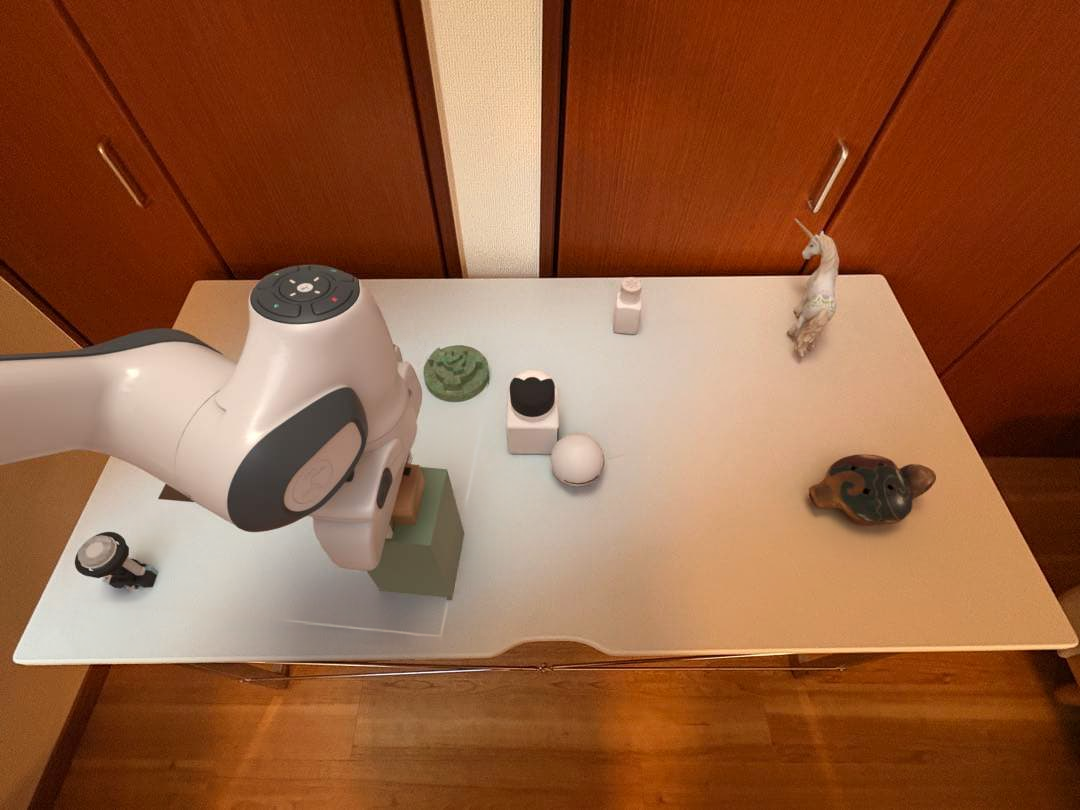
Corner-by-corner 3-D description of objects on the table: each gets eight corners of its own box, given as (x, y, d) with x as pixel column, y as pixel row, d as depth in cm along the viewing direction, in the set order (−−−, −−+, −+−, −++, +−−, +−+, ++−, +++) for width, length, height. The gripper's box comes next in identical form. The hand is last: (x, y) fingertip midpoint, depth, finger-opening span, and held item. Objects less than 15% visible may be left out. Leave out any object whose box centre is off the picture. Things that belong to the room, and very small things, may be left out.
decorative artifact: (497, 395, 95) (480, 349, 100) (493, 366, 89) (476, 319, 95) (433, 412, 93) (420, 364, 99) (426, 384, 87) (412, 335, 93)
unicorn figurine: (811, 281, 109) (840, 218, 98) (837, 366, 97) (873, 305, 87) (770, 280, 109) (794, 218, 98) (791, 364, 98) (822, 304, 87)
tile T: (415, 525, 64) (407, 506, 60) (368, 521, 64) (358, 502, 61) (425, 483, 67) (418, 463, 63) (380, 479, 67) (371, 459, 64)
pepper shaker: (614, 316, 104) (619, 274, 97) (637, 318, 104) (645, 276, 96) (612, 333, 102) (617, 291, 94) (636, 336, 102) (644, 294, 94)
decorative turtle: (929, 524, 81) (960, 500, 75) (819, 546, 81) (839, 523, 74) (894, 460, 87) (920, 432, 80) (790, 480, 86) (807, 453, 79)
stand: (451, 600, 76) (430, 545, 62) (381, 593, 77) (344, 537, 63) (464, 533, 81) (447, 468, 68) (398, 527, 82) (367, 462, 68)
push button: (101, 602, 76) (49, 573, 68) (117, 561, 80) (69, 529, 72) (155, 601, 77) (109, 571, 68) (169, 560, 80) (126, 527, 72)
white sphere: (548, 494, 85) (548, 467, 79) (552, 449, 89) (552, 420, 83) (620, 500, 84) (626, 473, 78) (621, 454, 88) (626, 425, 82)
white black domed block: (558, 455, 88) (559, 406, 79) (508, 454, 88) (503, 406, 79) (557, 414, 93) (559, 363, 83) (510, 414, 93) (506, 363, 83)
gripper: (360, 332, 59) (390, 414, 71) (288, 526, 48) (338, 587, 59) (424, 336, 59) (443, 418, 70) (368, 533, 47) (402, 594, 58)
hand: (395, 497), depth 64 cm, fingers open, 6 cm apart
